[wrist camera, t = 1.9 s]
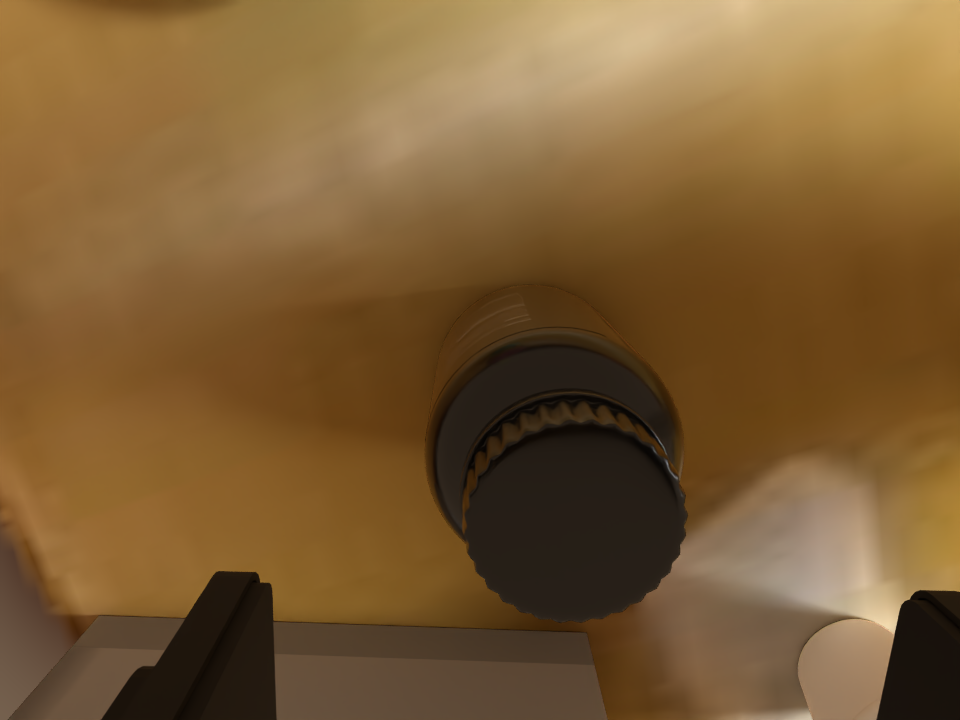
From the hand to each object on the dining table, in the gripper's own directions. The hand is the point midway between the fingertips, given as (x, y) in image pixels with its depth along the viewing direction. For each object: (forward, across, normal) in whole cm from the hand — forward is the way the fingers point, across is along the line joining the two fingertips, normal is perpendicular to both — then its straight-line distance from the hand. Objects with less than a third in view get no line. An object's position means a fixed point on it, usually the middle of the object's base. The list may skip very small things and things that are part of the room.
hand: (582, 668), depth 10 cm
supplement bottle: (+17, -1, 0) cm, 17 cm away
